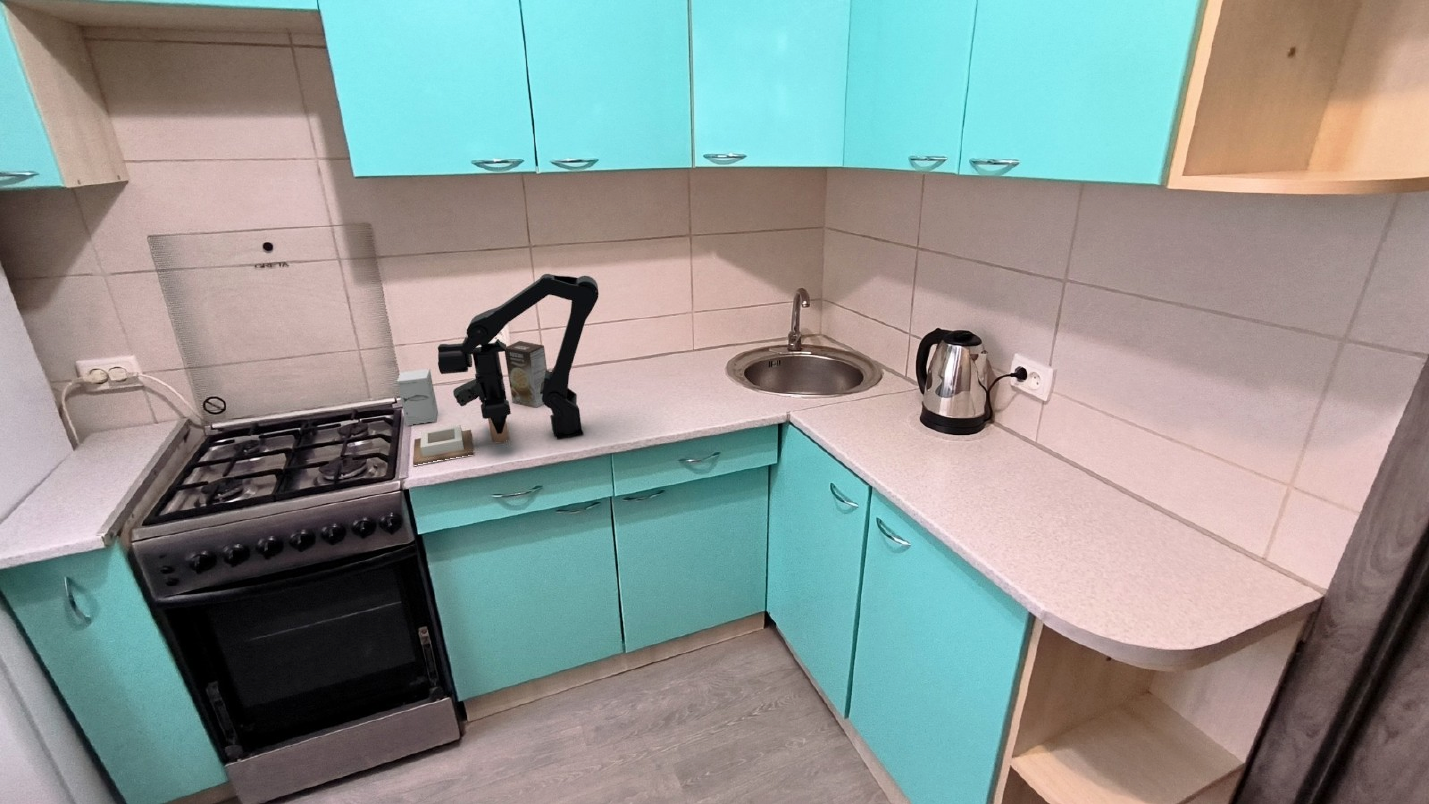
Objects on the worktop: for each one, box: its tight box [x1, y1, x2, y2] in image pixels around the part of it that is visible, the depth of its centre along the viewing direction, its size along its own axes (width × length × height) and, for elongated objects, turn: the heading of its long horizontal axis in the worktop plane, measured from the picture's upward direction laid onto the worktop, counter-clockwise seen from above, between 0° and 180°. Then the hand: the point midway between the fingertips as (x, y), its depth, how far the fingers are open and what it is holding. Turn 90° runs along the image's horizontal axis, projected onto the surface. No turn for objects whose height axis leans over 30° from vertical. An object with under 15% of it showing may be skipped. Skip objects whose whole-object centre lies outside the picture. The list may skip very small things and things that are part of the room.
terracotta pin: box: [487, 418, 510, 443], centre depth 162 cm, size 4×4×8 cm
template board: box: [412, 424, 475, 466], centre depth 159 cm, size 13×13×4 cm
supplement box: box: [396, 368, 439, 427], centre depth 174 cm, size 7×7×13 cm
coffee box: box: [504, 340, 548, 408], centre depth 182 cm, size 9×6×16 cm
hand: (499, 429), depth 163 cm, fingers closed on terracotta pin, 4 cm apart
